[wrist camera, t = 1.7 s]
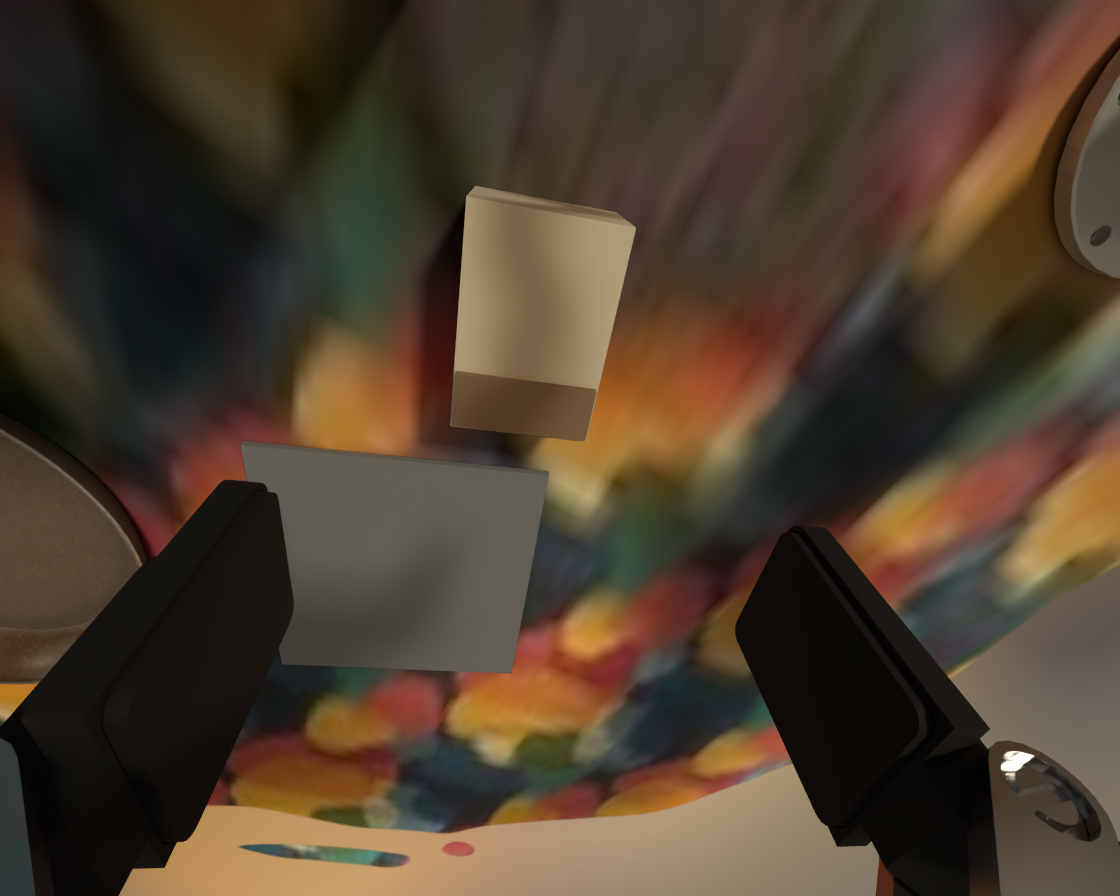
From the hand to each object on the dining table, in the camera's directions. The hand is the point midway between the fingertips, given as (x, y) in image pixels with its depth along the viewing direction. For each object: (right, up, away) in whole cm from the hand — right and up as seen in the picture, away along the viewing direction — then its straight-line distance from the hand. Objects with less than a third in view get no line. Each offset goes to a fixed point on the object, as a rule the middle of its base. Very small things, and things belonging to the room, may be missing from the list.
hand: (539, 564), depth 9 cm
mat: (-10, -6, +22) cm, 25 cm away
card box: (-1, +9, +14) cm, 17 cm away
